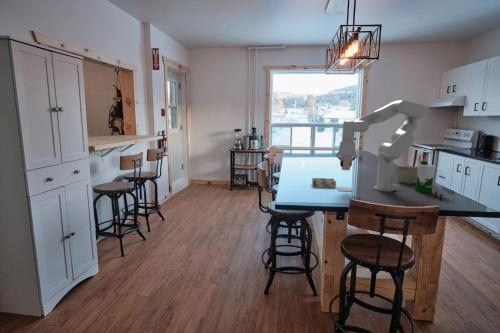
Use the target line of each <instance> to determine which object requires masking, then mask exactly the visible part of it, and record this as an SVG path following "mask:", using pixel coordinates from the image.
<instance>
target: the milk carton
mask: <svg viewBox="0 0 500 333" xmlns="http://www.w3.org/2000/svg"><path fill="white" fill-rule="evenodd" d="M428 162H429V161H426V160H420V163H418V164H416V165H417V166H416V168H418V174H417V179H416V181H415V182H416V183H415V188H414V191H415V192H419V193H422V194H429V193H433V182H434V175H435V171H436V169H437V168H436V167H437V166H436V165H434V164H429V163H428Z"/></svg>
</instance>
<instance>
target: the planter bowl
mask: <svg viewBox="0 0 500 333" xmlns="http://www.w3.org/2000/svg"><path fill="white" fill-rule="evenodd" d="M395 172H396V173H395V174H396V176H397V178H398V180H399V182H400V183H402V184H414V183H415V182H416V181H417V174H418V167H413V166H403V165H401V166H396V171H395Z"/></svg>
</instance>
